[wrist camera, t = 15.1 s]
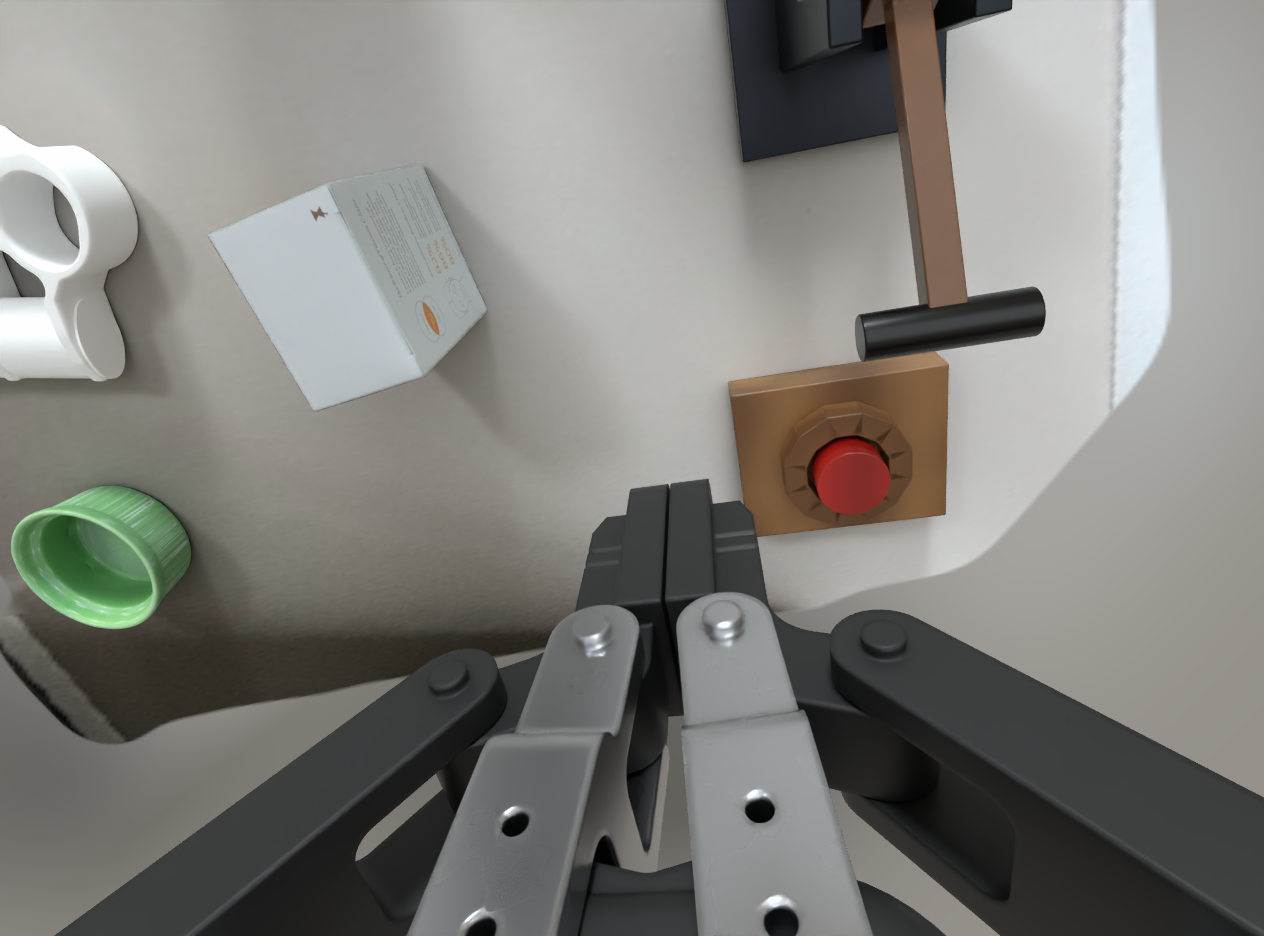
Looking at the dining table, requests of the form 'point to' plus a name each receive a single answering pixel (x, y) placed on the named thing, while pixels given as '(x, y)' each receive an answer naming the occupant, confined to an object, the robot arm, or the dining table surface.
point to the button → (850, 476)
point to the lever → (933, 211)
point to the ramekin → (102, 555)
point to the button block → (837, 409)
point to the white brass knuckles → (60, 262)
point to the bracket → (820, 70)
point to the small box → (355, 283)
